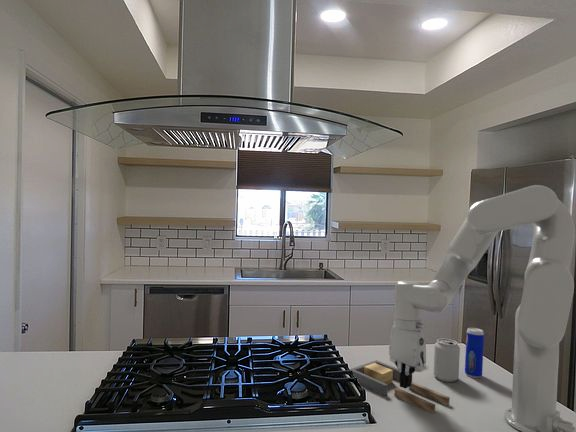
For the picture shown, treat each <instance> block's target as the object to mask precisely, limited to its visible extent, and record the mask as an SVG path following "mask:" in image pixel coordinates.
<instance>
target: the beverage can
mask: <svg viewBox="0 0 576 432" xmlns="http://www.w3.org/2000/svg"><path fill="white" fill-rule="evenodd" d="M465 336H466V339H465V359H464V361H465V362H464V373H465V375H466V376H468V377H469V378H473V379H480V378H482V376H483V365H484V362H483V361H484V342H485V333H484V330H483V329H480V328H478V327H468V328H467V330H466V335H465Z"/></svg>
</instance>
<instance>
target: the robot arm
mask: <svg viewBox="0 0 576 432" xmlns="http://www.w3.org/2000/svg"><path fill="white" fill-rule="evenodd" d="M528 224H529V225H530V224H532V227H533V235H532V236H533V237H532V243H531V249H530V254H529V258H528V263H527V266H526V269H525V272H524V283H523V289H522V294H521V295H522V296H521V299H520V304H519V306H518V307H517V308H516V311H515V316H514V317H515V318H514V322H515V323H514V349H513V352H514V353H513V369H512V371H513V373H512V395H511V408H507V409H506V410H505V411H504V415H503V416H504V417H503V418H504V420H505V422H506V423H508V424H509V426H511V427H513V428H514V429H516V430H518V431H519V432H576V426H574V422H571V421H568V420H565V419H563V418H562V417H561V411H559V410H557V404H558V403H557V402H558V401H557V400H558V397H557V396H558V380H559V379H558V377H559V365H560V364H559V363H560V362H559V361H560V342H562V340H563V339H564V336H565V333H566V329H567V326H568V321H569V317H570V312H571V306H572V303H573V297H574V293H575V291H574V290H575V282H574V277H573V274H572V273H571V270H570V268H571V263H572V257H573V250H574V244H575V235H576V232H575V231H576V230H575V229H576V228H575V222H574V219H573V217H572V214H571V212H570V211H569V209H568V208H567V206H566V205H565V204H564V203H563V202H562V201H561V200H560V199H559V198H558V196H557V194H556V192H555V191H554V190H553V189H551V188H550V187H547V186H545V185H541V184H540V185H539V184H534V185H529V186H526V187H522V188H519V189H516V190H514V191H513V190H512V191H510V192H507V193H502V194H501V195H497V196H494V197H490V198H486V199H482V200H478V201H476V202H474V203H473V204H471V206H470V208H469V209H468V210H467V215H466V218H465V219H464V221H463V223H462V224H461V226H460V227H459V229H458V231H457V232H456V234H455V236H454V237H453V239H452V240H451V242H450V244H449V245H448V247H447V249H446V252H445V257H444V260H443V262H442V263H441V265H440V267H439V268H438V270H437V272H436V274H435V275H434V276H433V278H432V280H431V281H430V283H429V284H427V285H422V284H421V283H420V282H418V281H415V280H405V279H403V280H398V281H397V282H396V283H395V285H394V314H393V315H394V317H393V318H394V320H393V325H392V327H391V330H390V337H389V342H388V343H389V345H388V355H389V361H390V362H391V363H393V365H395V367H396V368H397V369H398V372H399V373H400V381H399V387H400V388H402V389H409V387H410V386H411V383H412V382H413V374H414V373H415V372H416V373H421V372H424V371H425V370H424V365H425V364H426V362H427V346H426V337H425V332H424V330H423V329H425V324H424V323H422V310H423V311H426V312H430V313H442V312H443V311H445V310H446V308H447V307H448V306H449V304H450V303H451V302H452V300H454V297H455V295H456V294H457V292H458V291H459V290H460V287H462V285H463V283H464V281H465V280H466V279H467V278H468V275H469V274H470V273H471V272H472V271H473V270H474V269H475V268H476V267H477V265H478V264H479V262H480V261H481V259H482V258H483V256H484V255H485V253H486V251H487V250H488V248H489V246H490V245H491V244H492V242H493V241H494V239H495V238H496V236H497V235H498V233H499V232H502V231H507V230H511V229H513V228H514V229H515V228H517V227H522V226H526V225H528Z"/></svg>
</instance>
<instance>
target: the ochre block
mask: <svg viewBox="0 0 576 432" xmlns="http://www.w3.org/2000/svg"><path fill="white" fill-rule="evenodd" d="M364 374H365V375H368V376H370V377H372V378H374V379H377V380H379V381H381V382H383V383H385V384H388V385H390V384H392V383H393V380H394V378H393V370H391V369H389V368H386V367H384V366H381V365H379V364H376V363H373V364H370V365H367V366H364Z"/></svg>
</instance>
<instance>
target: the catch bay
mask: <svg viewBox="0 0 576 432" xmlns="http://www.w3.org/2000/svg"><path fill="white" fill-rule="evenodd" d="M373 363H376V364H379V365H381V366H384V367H386V368H389V369H391V370H393V380H396V381H399V382H400V373H399V372H398V368H397V367H396V366H395V367H394V366H392V365H390V364H388V363H384V362H382V361H379V360H373V361H370V362H367V363H365V364H362V365H359V366H355V367H352V368H349V369H348V371H349V370H351V371H352V372H353V375H354V377H356V378H357V379H358V382H359V385H360V386H363V387H365V388H366V389H370V390H371V391H374V392H376V393H377V394H379V395H382V396H384V397H385V396H387V395H388V389H389V388H388V386H389V384H385V383H383V382H381V381H379V380H377V379H374V378H372V377H370V376H368V375H365V374H364V366H367V365H370V364H373Z"/></svg>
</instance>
